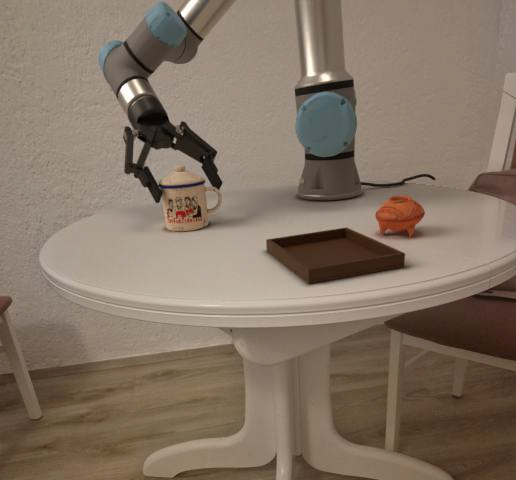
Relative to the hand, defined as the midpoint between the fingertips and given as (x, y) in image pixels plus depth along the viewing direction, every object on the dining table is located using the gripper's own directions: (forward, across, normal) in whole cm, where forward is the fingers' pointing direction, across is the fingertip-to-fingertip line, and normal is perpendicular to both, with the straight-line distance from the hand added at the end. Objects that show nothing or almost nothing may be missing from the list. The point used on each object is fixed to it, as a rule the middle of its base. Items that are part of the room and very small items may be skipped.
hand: (190, 192), depth 95 cm
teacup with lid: (+5, 0, -5) cm, 7 cm away
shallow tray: (+30, -2, +21) cm, 37 cm away
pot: (+30, -19, +20) cm, 41 cm away
